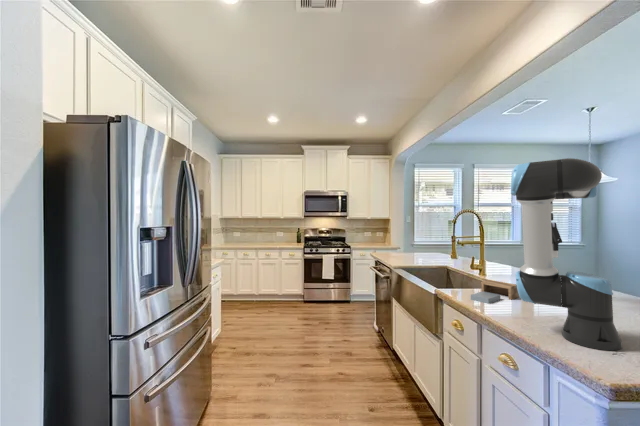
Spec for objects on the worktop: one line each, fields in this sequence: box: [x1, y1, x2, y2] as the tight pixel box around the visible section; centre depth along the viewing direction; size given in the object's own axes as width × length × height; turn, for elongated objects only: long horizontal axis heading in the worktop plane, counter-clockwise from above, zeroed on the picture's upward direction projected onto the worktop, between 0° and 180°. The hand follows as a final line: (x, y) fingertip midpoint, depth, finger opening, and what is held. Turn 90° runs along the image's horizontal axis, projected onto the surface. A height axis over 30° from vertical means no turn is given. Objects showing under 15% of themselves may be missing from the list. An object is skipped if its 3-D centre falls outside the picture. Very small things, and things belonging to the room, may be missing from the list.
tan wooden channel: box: [480, 279, 520, 301], centre depth 157 cm, size 8×15×7 cm, turn 31°
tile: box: [470, 290, 501, 305], centre depth 150 cm, size 12×9×3 cm
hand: (544, 255), depth 140 cm, fingers open, 13 cm apart
